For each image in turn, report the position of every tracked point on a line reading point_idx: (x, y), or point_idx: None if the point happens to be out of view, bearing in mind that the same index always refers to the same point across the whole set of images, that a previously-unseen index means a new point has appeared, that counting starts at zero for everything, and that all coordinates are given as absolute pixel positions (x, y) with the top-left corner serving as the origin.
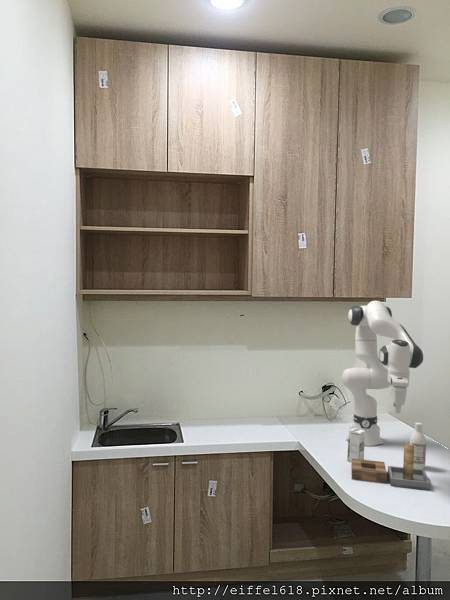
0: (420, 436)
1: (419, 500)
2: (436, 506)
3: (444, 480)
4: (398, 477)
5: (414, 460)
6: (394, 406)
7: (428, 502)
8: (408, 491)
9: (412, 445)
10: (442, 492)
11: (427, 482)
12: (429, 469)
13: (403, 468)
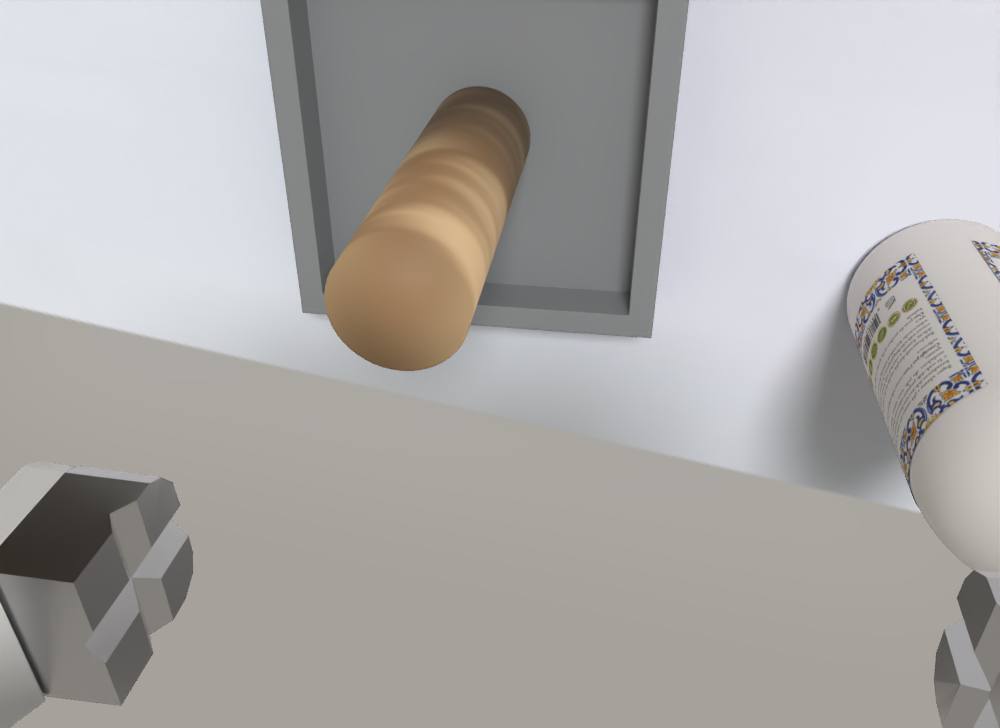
0: (971, 545)
1: (65, 155)
2: (24, 261)
3: (599, 439)
4: (484, 39)
5: (881, 296)
6: (969, 595)
7: (66, 219)
8: (218, 92)
9: (434, 356)
10: (324, 364)
11: (308, 294)
12: (864, 388)
13: (447, 121)
